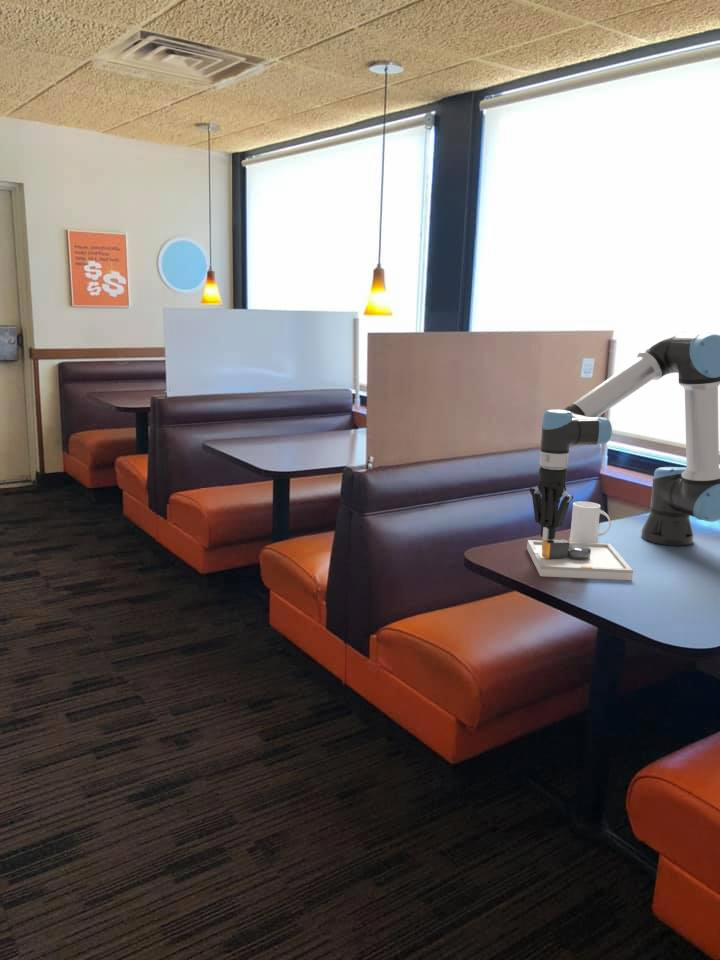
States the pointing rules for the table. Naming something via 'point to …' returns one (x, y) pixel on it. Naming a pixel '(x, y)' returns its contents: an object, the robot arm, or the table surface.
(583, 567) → the white square tray
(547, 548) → the dark grey handled piece
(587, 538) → the mug
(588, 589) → the table surface
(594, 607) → the table surface
